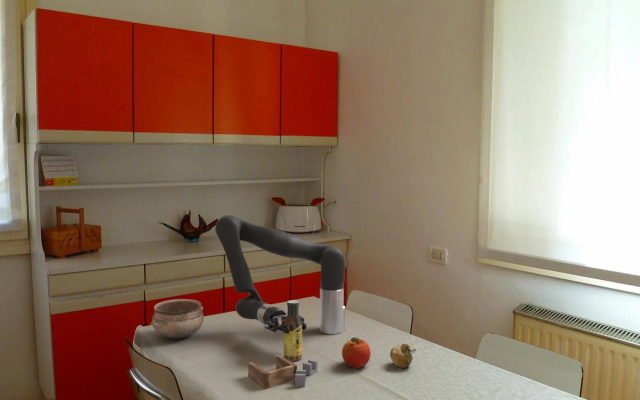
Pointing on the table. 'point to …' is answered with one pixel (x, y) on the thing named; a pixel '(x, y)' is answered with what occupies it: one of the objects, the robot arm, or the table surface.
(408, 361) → the onion
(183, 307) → the cooking pot
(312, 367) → the clip
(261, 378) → the frame
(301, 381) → the clip
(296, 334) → the sauce bottle
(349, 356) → the fruit
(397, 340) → the table surface
